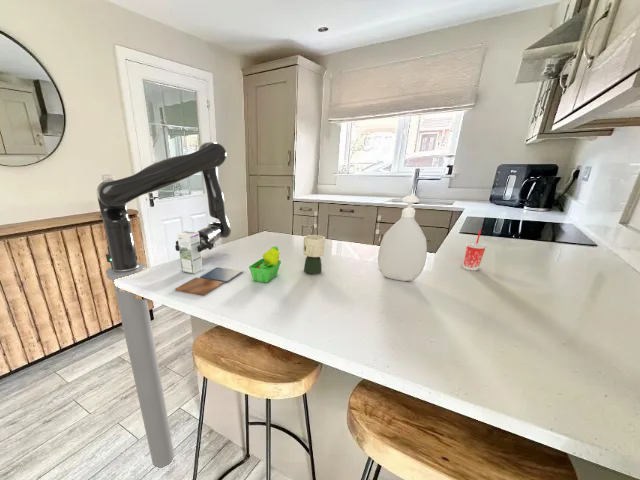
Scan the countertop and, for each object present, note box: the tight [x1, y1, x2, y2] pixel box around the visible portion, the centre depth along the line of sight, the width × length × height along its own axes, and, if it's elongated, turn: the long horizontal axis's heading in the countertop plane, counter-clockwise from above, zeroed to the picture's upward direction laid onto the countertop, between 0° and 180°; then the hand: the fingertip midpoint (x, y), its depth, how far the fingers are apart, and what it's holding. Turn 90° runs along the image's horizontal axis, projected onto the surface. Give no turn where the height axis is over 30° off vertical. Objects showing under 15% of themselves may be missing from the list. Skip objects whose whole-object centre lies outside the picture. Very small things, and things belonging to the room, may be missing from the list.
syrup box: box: [176, 230, 203, 275], centre depth 113 cm, size 6×6×14 cm
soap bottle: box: [377, 194, 428, 282], centre depth 99 cm, size 14×8×27 cm, turn 53°
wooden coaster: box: [175, 276, 224, 296], centre depth 100 cm, size 11×11×1 cm
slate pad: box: [199, 267, 243, 284], centre depth 110 cm, size 11×11×1 cm
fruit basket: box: [248, 246, 282, 283], centre depth 105 cm, size 11×9×11 cm
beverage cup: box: [462, 229, 488, 271], centre depth 108 cm, size 6×6×14 cm
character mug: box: [303, 234, 326, 275], centre depth 108 cm, size 11×7×13 cm, turn 159°
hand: (187, 248), depth 110 cm, fingers open, 8 cm apart
